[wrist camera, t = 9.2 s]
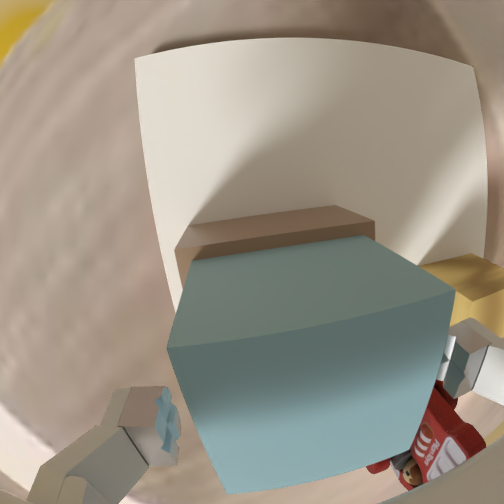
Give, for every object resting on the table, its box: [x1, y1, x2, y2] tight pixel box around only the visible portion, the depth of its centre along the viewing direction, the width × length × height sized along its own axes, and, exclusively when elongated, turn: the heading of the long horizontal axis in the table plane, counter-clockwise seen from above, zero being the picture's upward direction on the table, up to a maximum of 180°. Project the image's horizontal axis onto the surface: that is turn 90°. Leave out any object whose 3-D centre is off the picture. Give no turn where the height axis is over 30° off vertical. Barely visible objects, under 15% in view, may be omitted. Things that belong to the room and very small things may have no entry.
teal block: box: [166, 235, 456, 494], centre depth 8 cm, size 6×6×5 cm
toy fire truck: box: [366, 379, 486, 491], centre depth 16 cm, size 7×12×10 cm, turn 9°
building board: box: [135, 38, 488, 312], centre depth 13 cm, size 20×19×5 cm
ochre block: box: [419, 253, 504, 338], centre depth 14 cm, size 5×5×5 cm
